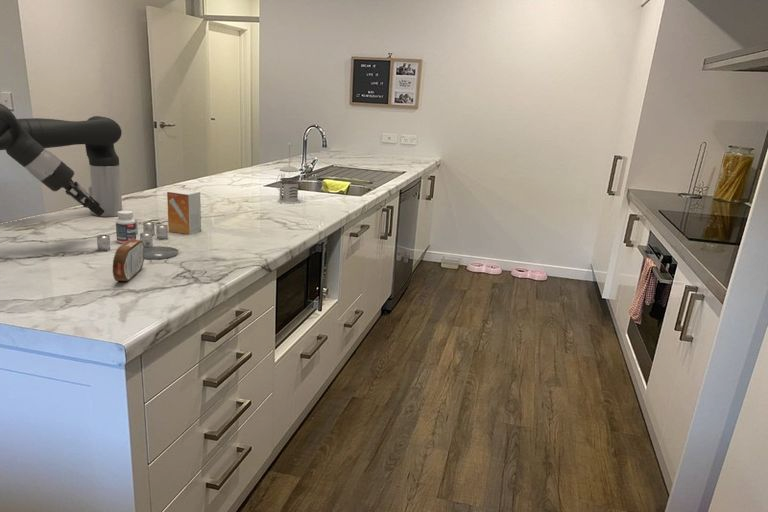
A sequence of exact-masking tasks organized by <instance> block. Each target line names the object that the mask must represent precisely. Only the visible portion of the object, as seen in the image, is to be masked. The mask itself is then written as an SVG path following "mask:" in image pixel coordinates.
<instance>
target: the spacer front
mask: <svg viewBox="0 0 768 512" xmlns="http://www.w3.org/2000/svg"><path fill="white" fill-rule="evenodd" d="M155 229H156V230H155V231H156V233H155V234H156V240H158V239H159V241H164V239H166V240H168V239H169V235H168V234H169V228H168V224H157V225H155Z"/></svg>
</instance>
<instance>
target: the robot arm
mask: <svg viewBox="0 0 768 512" xmlns="http://www.w3.org/2000/svg"><path fill="white" fill-rule="evenodd" d="M121 137H122V128H121V126H120V124H118V123H117V121H115V120H113V119H112V118H110V117H106V116H99V115H94V116H91V117H89V118H88V119H87V120H78V121H77V120H74V121H73V120H64V119H54V118H41V117H39V118H34V117H33V118H32V117H31V118H17V117H16V116H15V114H14V113H13V112H12V110H10V109H9V107H7V106H6V105H4V104H2V103H0V151H5V153H6V154H7V155H8V156H9V157H11V158H12V159H13V160H14V161H16V162H17V163H18V164H19V165H20V166H22V167H23V168H24V169H26V170H27V172H28V173H30V175H31V176H33V177H35V179H37V180H38V182H39V181H40V182H41V183H42V184H43V185H45V186H46V187H47V188H48V189H49V190H50V191H52V192H58V191H59V190H61V189H64V190H65V194H66V195H67V196H68V197H69V198H72V199H73V200H74V201H76V202H77V203H78V204H80V205H82V206H83V207H84V208H85V209H89V210H90V215H93V216H96V217H116V216H117V217H118V212H119V211H123V200H122V199H123V197H122V183H121V181H122V180H121V170H120V169H121V168H120V158H119V155H117V153H116V149H115V144H116V143H118V141H119V140H120V139H121ZM74 145H75V146H76V145H85V152H86V157H87V158H88V163H89V174H90V177H89V179H90V186H88V192H87V190H86V189H85V188H84V187H82V186H81V184H80V183H79V182H78V181H74V180H73V177H74V175H75V171H74V170H73V169H72V168H71V167H70V166H68V165H67V164H66V163H65V162H63V160H61V159H60V158H59V157H57V156H56V155H55V154H54V153H53V152H51V151H49V150H48V149H51V148H60V147H67V146H68V147H69V146H74Z"/></svg>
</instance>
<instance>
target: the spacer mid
mask: <svg viewBox="0 0 768 512" xmlns="http://www.w3.org/2000/svg"><path fill="white" fill-rule="evenodd" d="M142 227H143V228H142V231H143V232H142V233H146V232H148V233H152V237H154V235H155V234H156V233H155V231H156V230H155V229H156V227H155V222H154V221H143V222H142ZM155 236H156V235H155Z"/></svg>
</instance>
